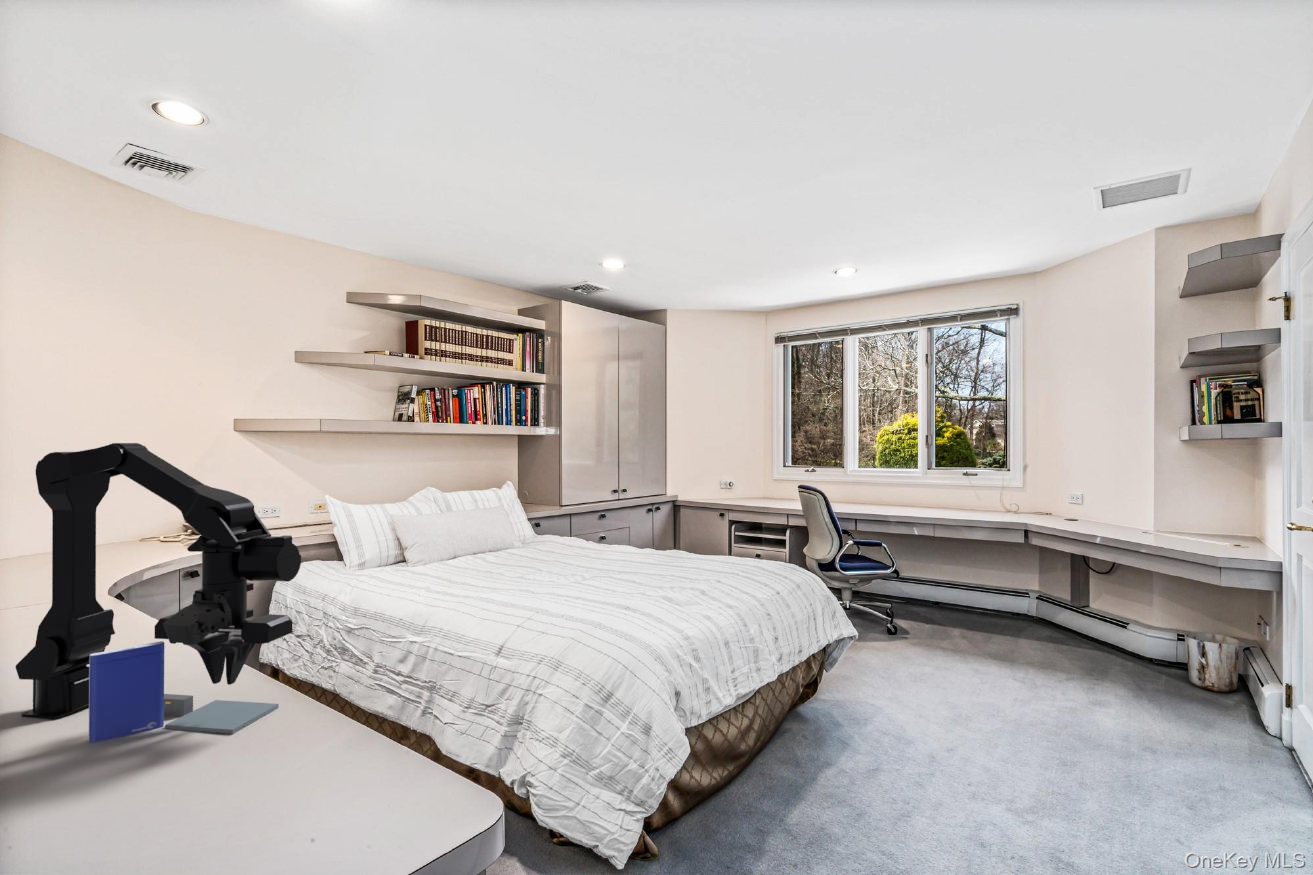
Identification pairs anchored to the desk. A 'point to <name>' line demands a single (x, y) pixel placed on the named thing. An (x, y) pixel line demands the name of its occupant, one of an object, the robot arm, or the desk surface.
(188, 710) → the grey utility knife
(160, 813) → the desk surface
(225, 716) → the mat
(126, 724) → the hard drive
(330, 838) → the desk surface
